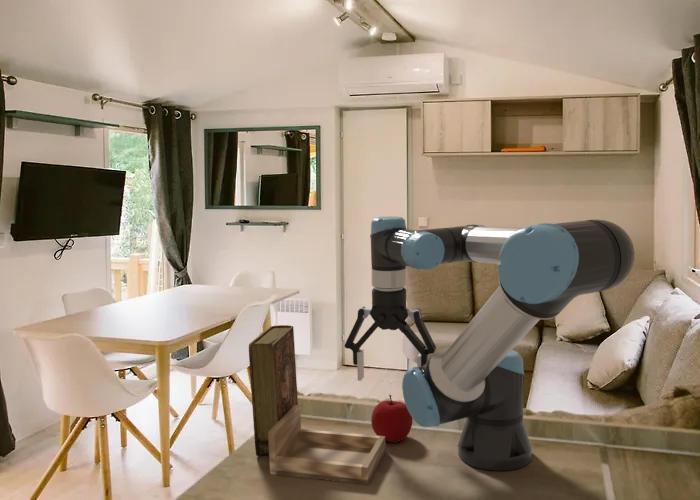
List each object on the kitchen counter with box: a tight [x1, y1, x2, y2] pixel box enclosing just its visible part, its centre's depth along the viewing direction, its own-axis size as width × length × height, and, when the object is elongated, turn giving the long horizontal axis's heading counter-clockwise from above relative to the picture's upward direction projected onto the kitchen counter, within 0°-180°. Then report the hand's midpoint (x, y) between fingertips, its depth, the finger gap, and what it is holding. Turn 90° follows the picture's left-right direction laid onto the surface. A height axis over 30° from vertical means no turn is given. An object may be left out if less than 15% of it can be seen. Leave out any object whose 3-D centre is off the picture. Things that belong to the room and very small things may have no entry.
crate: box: [268, 404, 387, 486], centre depth 145 cm, size 20×15×9 cm
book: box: [248, 324, 299, 457], centre depth 155 cm, size 16×6×25 cm, turn 169°
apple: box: [370, 394, 413, 443], centre depth 157 cm, size 9×9×10 cm
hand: (390, 381), depth 156 cm, fingers open, 13 cm apart
